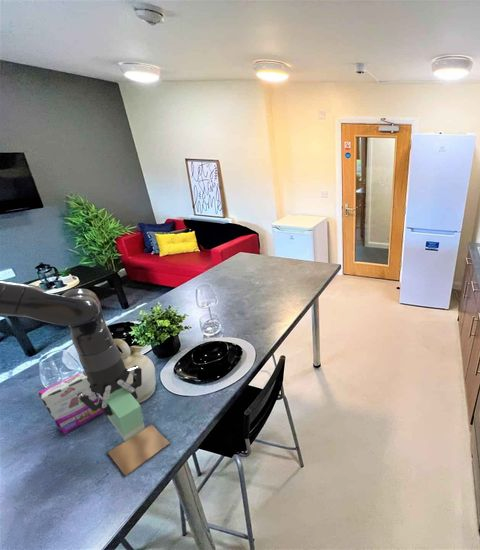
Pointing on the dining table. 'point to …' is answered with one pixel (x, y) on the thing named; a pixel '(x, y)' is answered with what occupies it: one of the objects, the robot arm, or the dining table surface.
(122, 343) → the jug
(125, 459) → the cork mat
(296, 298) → the dining table surface
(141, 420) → the green carton
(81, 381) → the candy bar box
